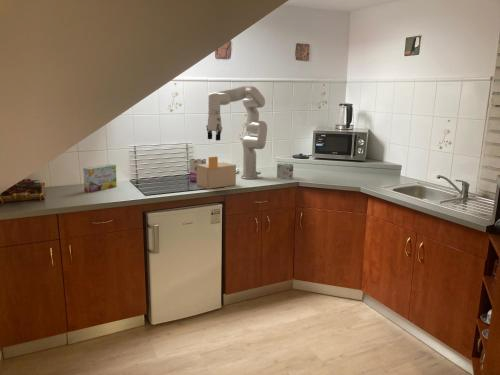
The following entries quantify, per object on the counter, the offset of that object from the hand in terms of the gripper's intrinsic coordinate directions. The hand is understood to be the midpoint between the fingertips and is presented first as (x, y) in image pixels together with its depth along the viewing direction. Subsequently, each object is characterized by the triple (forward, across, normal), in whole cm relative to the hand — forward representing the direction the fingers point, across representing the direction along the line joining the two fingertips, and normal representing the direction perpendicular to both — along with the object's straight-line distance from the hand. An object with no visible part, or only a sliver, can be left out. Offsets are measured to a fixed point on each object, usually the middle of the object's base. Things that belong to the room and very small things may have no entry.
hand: (213, 139), depth 273 cm
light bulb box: (+31, 0, -63) cm, 70 cm away
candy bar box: (+32, +24, -2) cm, 40 cm away
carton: (+32, +6, -6) cm, 33 cm away
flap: (+31, -2, -6) cm, 32 cm away
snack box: (+33, +36, +62) cm, 79 cm away
